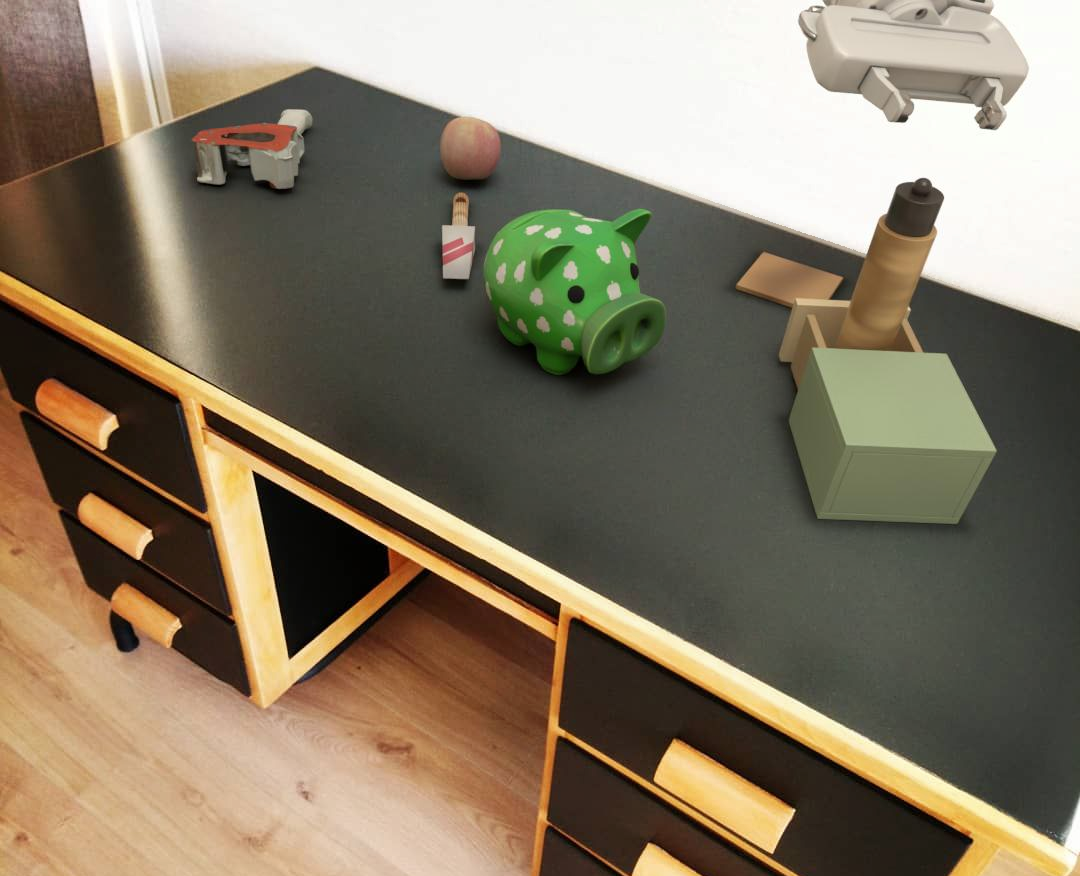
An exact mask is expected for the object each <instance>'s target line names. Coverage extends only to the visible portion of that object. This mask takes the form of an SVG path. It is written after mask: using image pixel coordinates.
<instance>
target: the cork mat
mask: <svg viewBox="0 0 1080 876" xmlns="http://www.w3.org/2000/svg"><path fill="white" fill-rule="evenodd" d="M843 280H844V277H843V276H840V275H837V274H834V273H831V272H827V271H825V270H821V269H818V268H815V267H812V266H810V265H806V264H804V263H799V262H797V261H793V260H791V259H788V258H784V257H781V256H777V255H776V254H775V255H774V254H771V253H769V252H766V251H763V252H762V253H761V254H760V255H759V257H757V259H756V260H755V261H754V262H753V264H752V265H751V267H749V269H748V270H747V271H746V272H745V274H744V275H743V276H742V277H741V278H740V280H739V281H738V282H737V283H736V284H735V290H737V291H740V292H744V293H746V294H749V295H752V296H755V297H758V298H761V299H764V300H766V301H767V300H768V301H770V302H773V303H776V304H779V305H783V306H785V307H788V308H791V309H792V308H793V304H794V301H795V298H802V299H822V300H831V298H832V297H833V296H834V294H835V292H837V289H838V288H839V286H840V285H841V284H842V282H843Z"/></svg>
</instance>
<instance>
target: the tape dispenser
mask: <svg viewBox="0 0 1080 876" xmlns="http://www.w3.org/2000/svg"><path fill="white" fill-rule="evenodd" d="M313 120H314V119H313V116H312V115H311V113H310V112H309V111H308V110H306V109H291V108H289V109H284V110H283V111H282V112H281V114H280V119H279V120H278V122H277V123H268V122H262V123H252V124H245V125H236V126H235V125H233V126H228V127H218V128H209V129H202V130H200V131H198V132H197V134H196V135H195V136H193V138H191V140H190V141H191V142H193V143H194V145H193V152H194V158H195V159H194V160H195V162H196V173H197V177H196V180H197V182H199V183H203V184H211V185H224V184H225V183H226V176H227V174H228V168H229V166H228V161H236V164H237V165H238V166H241V167H246V166H250V171H251V175H252V178H253V180H254V181H255V182H257V181H268V183H269V186H270V187H271V188H272V189H276V190H281V189H283V190H285V189H290V188H294V186H295V177H297V176H298V175H299V164H300V163H301V158H302V156H303V155H304V153H305V140H304V139H305V138H304V137H303V133H304V132H305V130H308V129H310V128H311V127H312V126H313Z"/></svg>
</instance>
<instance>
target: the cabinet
mask: <svg viewBox="0 0 1080 876" xmlns="http://www.w3.org/2000/svg"><path fill="white" fill-rule="evenodd" d="M794 399H795V400H794V403H793V405H792V408H791V412H790V415H789V418H788V424H789V427H790V430H791V433H792V437H793V441H794V445H795V447H796V450H797V454H798V458H799V461H800V464H801V468H802V471H803V474H804V475H803V476H804V478H805V482H806V484H807V488H808V491H809V495H810V498H811V502H812V505H813V508H814V512H815V516H816V518H817V519H818V520H836V521H838V520H840V521H864V522H865V521H866V522H890V523H914V524H915V523H916V524H917V523H918V524H939V525H940V524H941V525H942V524H943V525H958V523H959V522H960V520H961V518H962V516H963V514H964V513H965V511H966V509H967V507H968V505H969V504H970V502H971V499H973V496H974V494H975V493H976V490H977V488H978V487H979V485H980V483H981V481H982V479H983V478H984V476H985V474H986V472H987V470H988V468H989V466H990V465H991V462H993V459H994V457H995V456H996V454H997V452H998V451H997V448H996V447H995V444H994V442H993V440H992V438H991V437H990V434H989V433H988V431H987V429H986V427H985V425H984V423H983V421H982V420H981V417H980V416H979V414H978V412H977V410H976V408H975V405H974V404H973V402H972V399H971V398H970V395H969V394H968V393H967V390H966V389H965V387H964V385H963V383H962V381H961V379H960V377H959V374H958V373H957V371H956V369H955V367H954V365H953V364H952V361H951V359H950V358H949V356H948V354H947V353H941V352H940V353H938V352H937V353H936V352H923V353H919V352H898V351H876V350H855V349H834V348H812V349H811V352H810V355H809V358H808V361H807V365H806V368H805V371H804V374H803V377H802V380H801V383H800V386H799V389H798V388H797V393H796V395H795V398H794Z"/></svg>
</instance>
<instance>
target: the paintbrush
mask: <svg viewBox="0 0 1080 876" xmlns="http://www.w3.org/2000/svg"><path fill="white" fill-rule="evenodd" d="M469 203H470V202H469V197H468V195H467V194H466V193H465V192H458V193H455V195H454V197H453V203H452V204H453V205H452V221H451V222H452V223H451V225H450V224H449V225H448V224H447V225H446V224H445V225H444V224H443V225H441V230H442V231H441V232H442V235H441V236H442V278H443V279H451V280H453V279H456V280H469V279H470V274H471V270H472V265H473V262H474V257H475V251H476V240H475V239H476V226H475V225H474V226H471V225H468V223H469V221H468V220H469Z"/></svg>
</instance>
